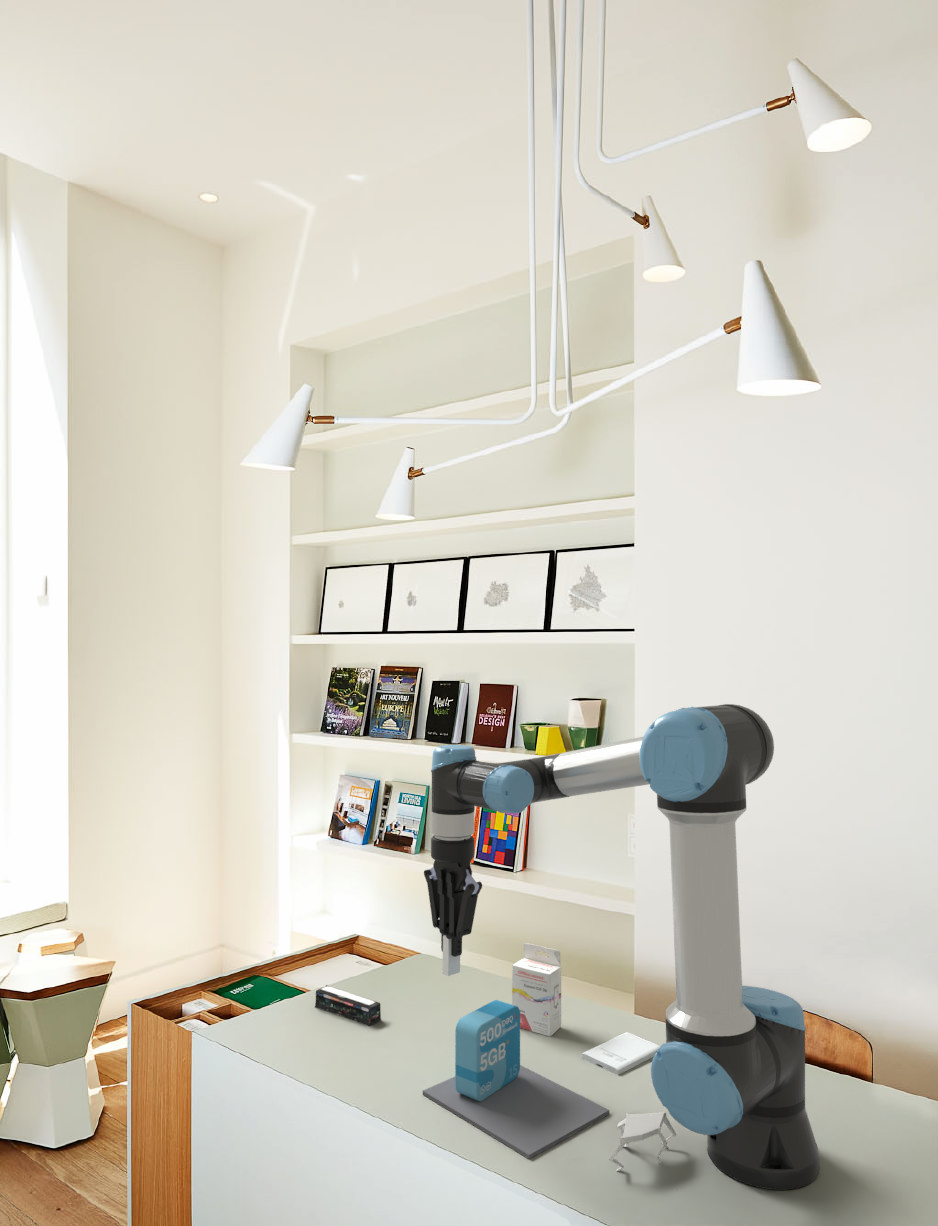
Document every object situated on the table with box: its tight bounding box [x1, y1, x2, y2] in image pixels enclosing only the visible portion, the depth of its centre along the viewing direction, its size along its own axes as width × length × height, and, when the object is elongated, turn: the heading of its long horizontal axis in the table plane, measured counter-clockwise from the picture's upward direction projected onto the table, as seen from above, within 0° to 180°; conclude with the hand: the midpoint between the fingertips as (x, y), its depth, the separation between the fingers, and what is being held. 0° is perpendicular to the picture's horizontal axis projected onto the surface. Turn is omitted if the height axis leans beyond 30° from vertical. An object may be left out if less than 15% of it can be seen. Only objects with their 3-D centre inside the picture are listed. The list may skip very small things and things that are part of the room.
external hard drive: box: [581, 1031, 662, 1076], centre depth 157 cm, size 2×8×12 cm
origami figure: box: [608, 1111, 677, 1172], centre depth 125 cm, size 12×8×5 cm
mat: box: [422, 1064, 611, 1160], centre depth 140 cm, size 24×18×1 cm
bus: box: [314, 984, 382, 1027], centre depth 172 cm, size 14×25×4 cm, turn 54°
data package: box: [454, 999, 521, 1101], centre depth 145 cm, size 12×4×12 cm, turn 141°
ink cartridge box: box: [511, 942, 562, 1037], centre depth 168 cm, size 9×5×15 cm, turn 58°
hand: (451, 972), depth 152 cm, fingers closed
